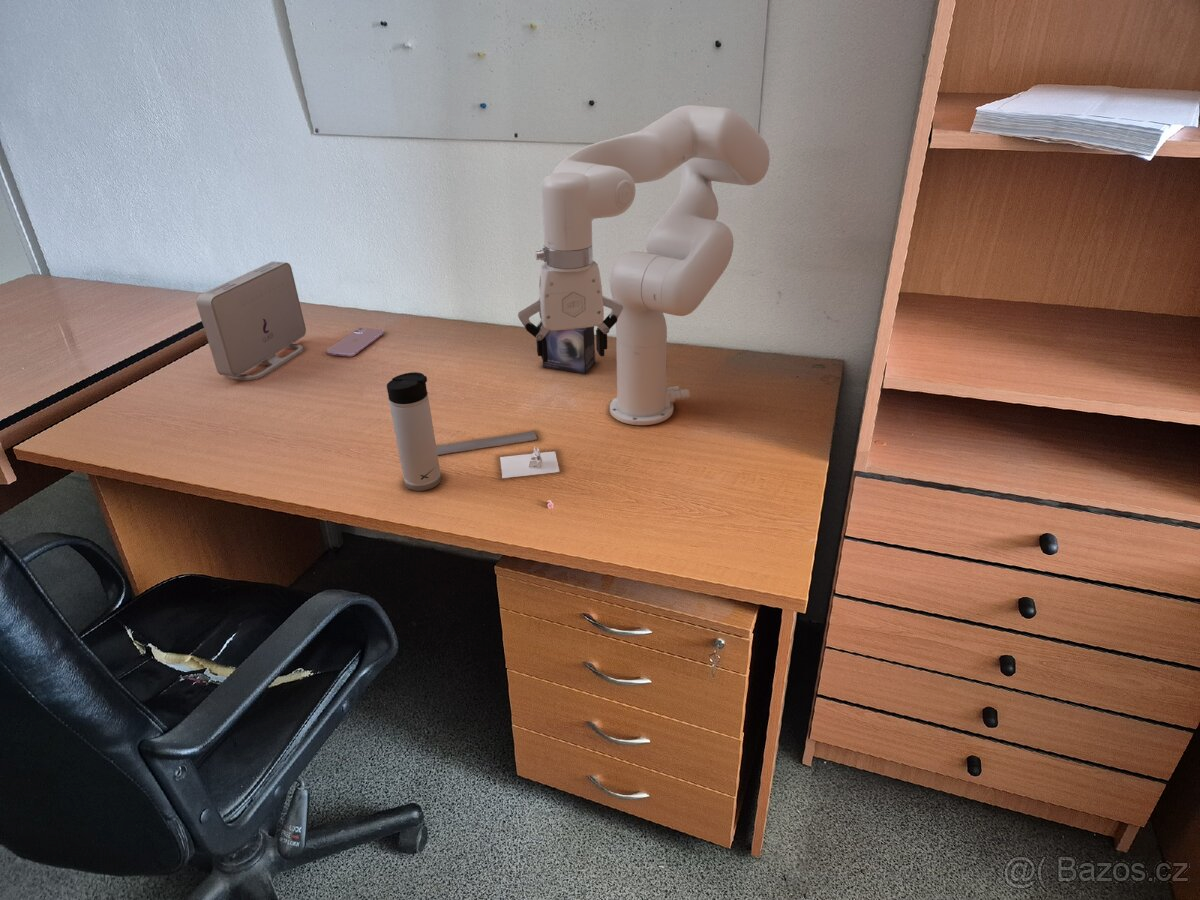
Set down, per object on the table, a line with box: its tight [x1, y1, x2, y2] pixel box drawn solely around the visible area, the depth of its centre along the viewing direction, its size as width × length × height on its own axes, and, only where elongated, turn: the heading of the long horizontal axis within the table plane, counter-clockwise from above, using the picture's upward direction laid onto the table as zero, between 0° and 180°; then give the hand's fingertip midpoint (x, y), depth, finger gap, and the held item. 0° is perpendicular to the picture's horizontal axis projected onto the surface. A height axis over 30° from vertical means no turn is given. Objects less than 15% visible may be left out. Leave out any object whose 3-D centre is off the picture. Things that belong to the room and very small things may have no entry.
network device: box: [196, 261, 307, 381], centre depth 175 cm, size 26×9×20 cm, turn 161°
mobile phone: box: [325, 327, 385, 358], centre depth 187 cm, size 8×1×15 cm
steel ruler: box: [436, 430, 538, 456], centre depth 145 cm, size 20×3×1 cm, turn 105°
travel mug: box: [386, 371, 442, 492], centre depth 130 cm, size 6×7×20 cm
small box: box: [542, 326, 596, 375], centre depth 171 cm, size 11×6×10 cm, turn 68°
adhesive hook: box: [528, 446, 543, 468], centre depth 138 cm, size 3×3×3 cm
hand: (572, 356), depth 132 cm, fingers open, 9 cm apart
